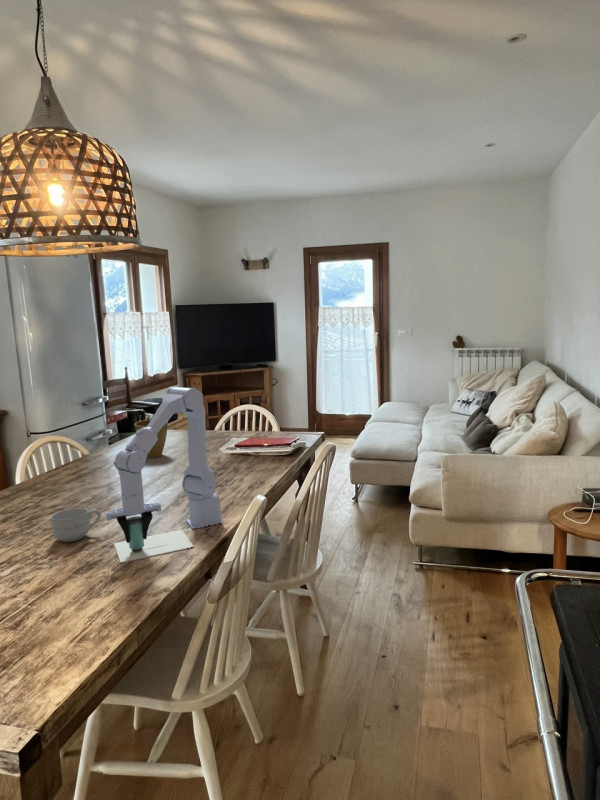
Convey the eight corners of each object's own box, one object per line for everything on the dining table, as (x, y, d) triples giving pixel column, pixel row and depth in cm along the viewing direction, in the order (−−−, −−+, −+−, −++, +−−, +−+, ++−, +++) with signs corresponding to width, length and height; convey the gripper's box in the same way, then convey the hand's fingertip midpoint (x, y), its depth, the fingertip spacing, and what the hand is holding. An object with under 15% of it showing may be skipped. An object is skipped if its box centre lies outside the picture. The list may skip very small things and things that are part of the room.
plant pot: (131, 459, 257) (128, 425, 254) (148, 451, 271) (146, 418, 268) (159, 460, 252) (156, 426, 250) (176, 452, 266) (173, 419, 264)
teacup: (50, 547, 161) (47, 521, 160) (55, 533, 171) (52, 509, 170) (101, 540, 165) (98, 515, 164) (103, 527, 175) (101, 503, 174)
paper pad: (182, 530, 170) (182, 529, 170) (193, 547, 158) (193, 546, 158) (113, 544, 162) (113, 543, 162) (120, 563, 150) (120, 561, 150)
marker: (142, 545, 159) (140, 515, 158) (146, 550, 155) (143, 519, 154) (128, 548, 157) (125, 518, 156) (131, 553, 153) (128, 522, 152)
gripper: (156, 484, 160) (159, 529, 162) (103, 493, 154) (107, 539, 156) (161, 491, 154) (164, 538, 156) (106, 500, 148) (110, 549, 150)
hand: (136, 539), depth 156 cm, fingers closed on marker, 4 cm apart
